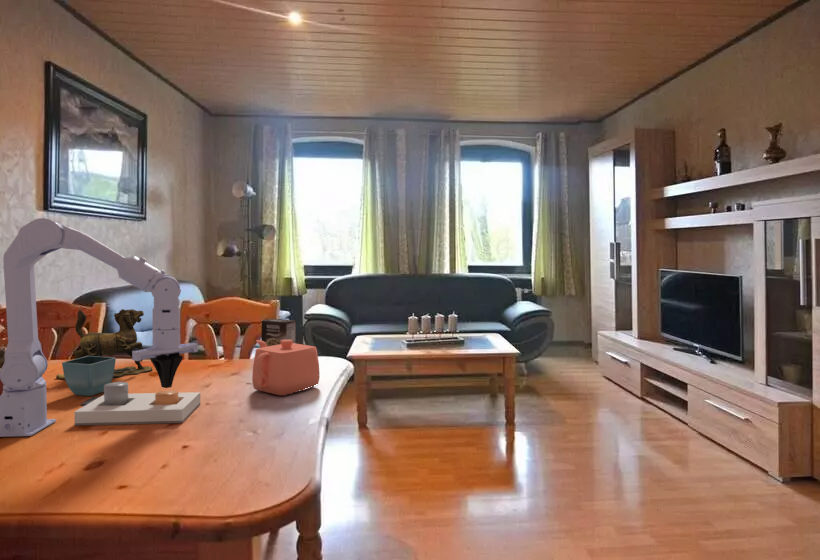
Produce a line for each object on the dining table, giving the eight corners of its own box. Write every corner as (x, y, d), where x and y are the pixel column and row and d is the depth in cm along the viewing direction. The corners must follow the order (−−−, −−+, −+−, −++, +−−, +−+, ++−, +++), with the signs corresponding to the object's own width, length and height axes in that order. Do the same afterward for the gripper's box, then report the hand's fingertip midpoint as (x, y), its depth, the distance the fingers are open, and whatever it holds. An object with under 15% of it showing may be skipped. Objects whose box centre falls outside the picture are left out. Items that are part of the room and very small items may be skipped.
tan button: (174, 413, 116) (174, 395, 116) (152, 413, 116) (152, 396, 115) (181, 407, 121) (181, 390, 121) (159, 407, 120) (159, 390, 120)
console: (182, 423, 112) (182, 409, 112) (74, 425, 109) (74, 411, 109) (200, 404, 126) (200, 392, 126) (105, 406, 123) (105, 393, 123)
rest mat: (107, 405, 124) (107, 403, 124) (80, 405, 123) (80, 403, 123) (118, 398, 130) (118, 396, 130) (92, 398, 129) (92, 397, 129)
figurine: (152, 375, 155) (152, 308, 154) (53, 383, 143) (51, 311, 142) (151, 366, 166) (151, 304, 165) (59, 373, 155) (58, 307, 154)
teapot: (283, 376, 156) (283, 331, 156) (329, 386, 145) (329, 338, 145) (226, 389, 140) (226, 339, 139) (273, 402, 129) (273, 348, 128)
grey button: (123, 404, 115) (122, 387, 114) (100, 405, 114) (99, 387, 114) (131, 398, 119) (131, 381, 119) (110, 399, 119) (109, 382, 119)
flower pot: (90, 399, 129) (90, 364, 128) (61, 396, 130) (60, 362, 130) (117, 390, 137) (116, 357, 137) (89, 388, 139) (88, 355, 139)
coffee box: (260, 371, 163) (260, 320, 162) (271, 366, 169) (271, 318, 168) (285, 373, 160) (285, 322, 159) (296, 369, 166) (296, 319, 165)
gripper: (186, 323, 125) (186, 378, 126) (125, 330, 114) (125, 390, 114) (202, 326, 121) (202, 383, 122) (141, 333, 110) (141, 395, 110)
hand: (166, 387), depth 118 cm, fingers closed
